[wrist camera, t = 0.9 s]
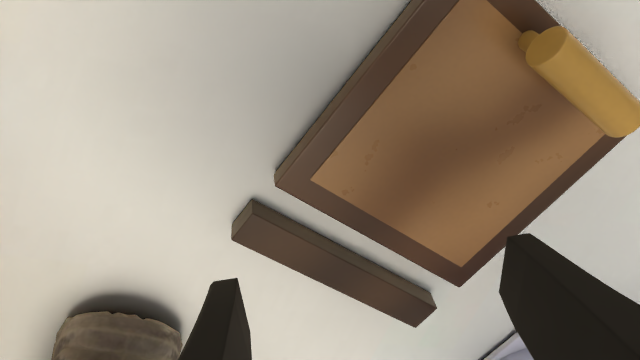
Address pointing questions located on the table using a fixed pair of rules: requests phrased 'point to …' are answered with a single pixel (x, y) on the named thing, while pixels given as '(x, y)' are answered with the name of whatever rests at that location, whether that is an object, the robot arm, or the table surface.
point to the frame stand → (330, 264)
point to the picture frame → (460, 132)
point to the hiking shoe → (115, 338)
